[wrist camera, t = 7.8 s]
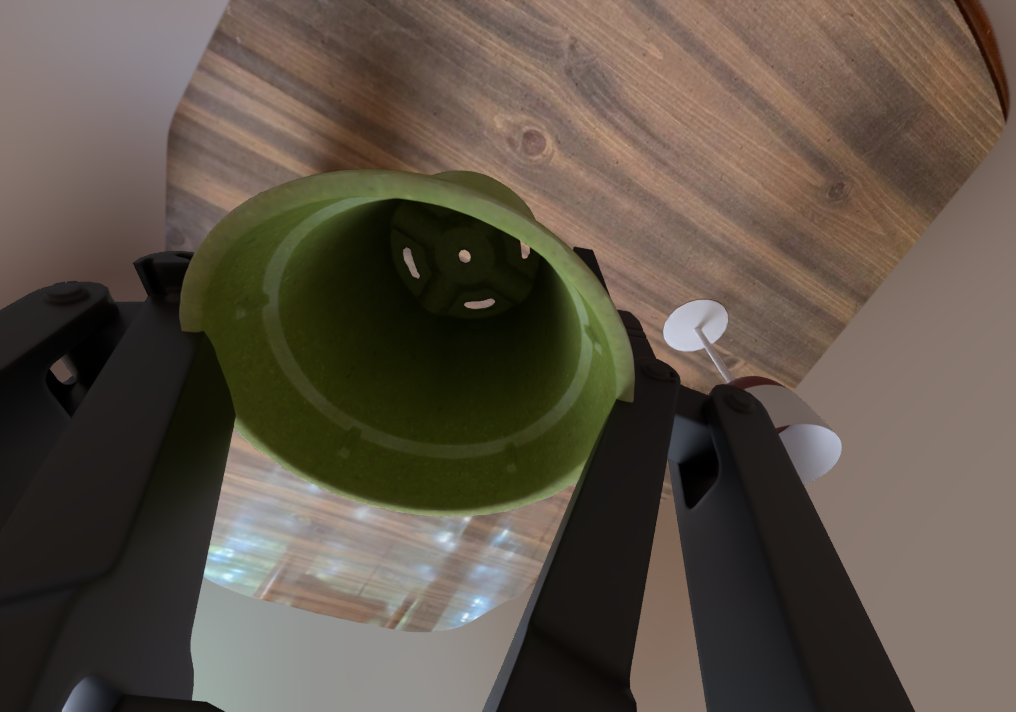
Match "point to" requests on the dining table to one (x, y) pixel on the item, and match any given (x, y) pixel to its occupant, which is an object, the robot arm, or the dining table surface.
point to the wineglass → (759, 391)
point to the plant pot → (409, 340)
